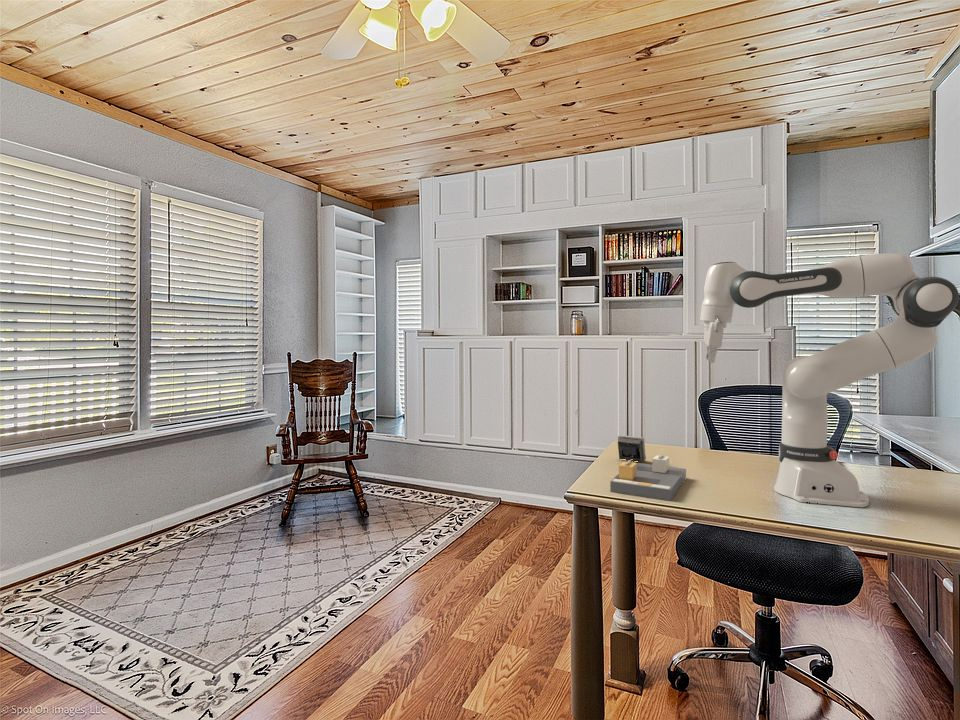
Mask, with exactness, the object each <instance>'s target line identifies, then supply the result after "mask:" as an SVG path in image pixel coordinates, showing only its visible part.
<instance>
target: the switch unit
mask: <svg viewBox="0 0 960 720" xmlns="http://www.w3.org/2000/svg"><path fill="white" fill-rule="evenodd" d="M633 463H635V462H633ZM685 478H687V469H686V468H681V467H674V466H669V470H668V471H667V472H666V473H660V472H653V471H652V464H649V463H642V462H641V463H637V476H636V477H635V478H634V479H633V480H626V479H619V473H618V474H617V475H615V476H614V477H613V479H611V480H610V482H609V483H610V484H609V485H610V488H609V489H610V490H609V491H610V492H611V493H612V492H613V493H618V494H623V495H624V494H625V495H629V496H630V495H631V496H636V497H637V496H638V497H644V498H651V499H658V500H664V501H670V502H671V501H672V500H673V498H674V496H675V495H676V493H678V491H679V489H680V487H682V485H683V483H684V482H685V480H686V479H685ZM683 481H684V482H683ZM681 484H682V485H681Z"/></svg>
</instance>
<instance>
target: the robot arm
mask: <svg viewBox="0 0 960 720" xmlns="http://www.w3.org/2000/svg"><path fill="white" fill-rule="evenodd" d="M914 269H915V268H914V265H913V262H912V260H911V259H910V258H909V257H908V256H907V255H905V254H903V253H894V252H893V253H874V254H873V253H872V254H871V253H870V254H863V255H857V256H851V257H845V258H842V259H837V260H835V261H832V262H829V263H826V264H823V265H820V266H818V267H814V268H811V269H807V270H806V269H805V270H799V271H792V272H785V273H783V272H782V273H778V274H777V273H776V274H775V273H774V274H770V273H764V272H760V271H755V270H747V269H745V268H743V267H742V266H741V265H739V264H738V263H737V262H734V261H724V262H723V261H721V262H717V263H713V264H712V265H711V266H710V267H709V268H708V269H707V272H706V274H705V280H704V287H703V294H704V295H703V296H704V298H703V300H702V303H701V308H700V317H699V320H700V321H703V330H704V331H703V341H704V345H706V356H705V359H706V360H707V362H708V363H710V364H711V363H712V364H714V363H715V362H716V356H717V353H718V349H721V348H722V345H723V338H724V336H723V335H724V329H726V328H727V324H729V323H730V324H731V323H732V321H733V312H734V307H735V305H737V306H740V307H741V308H746V309H747V308H748V309H750V308H757V307H760V306H762V305H764V304H765V303H766V302H768V301H770V300H772V299H776V298H784V297H792V296H799V295H821V296H825V297H830V298H835V299H836V298H837V299H851V298H864V297H871V296H879V295H880V296H886V299H887V300H888V302H889V304H890V306H891V308H892V310H893V312H894V313H895V314H896V315H897V318H896V319H895V320H894V321H893V322H891V323H889V324H887V325H884V326H882V327H879V328H876V329H873V330H871V331H869V332H865V333H863V334H860V335H857V336H854V337H852V338H849V339H847V340H844V341H841V342H839V343H837V344H835V345H832V346H830V347H828V348H826V349H824V350H820V351H819V352H818V351H817V352H815V353H813V354H811V355H809V356H808V355H806V356H804V355H802V356H797V357H794V358H791V359H790V360H789V361H788V362H787V363H786V364H785V365H784V367H783V369H782V383H781V384H782V388H781V390H782V394H781V395H782V396H781V397H782V399H781V403H782V404H781V406H782V407H781V440H780V442H779V446H778V459H779V469H778V472H777V473H778V474H777V477H776V481H775V484H774V486H773V490H774V491H775V492H776V493H778V494H780V495H783V496H785V497H788V498H792V499H794V500H795V501H797V502H801V503H806V502H808V504H809V502H810V504H817V503H818V505H830V506H843V507H854V508H865V507H868V506H869V504H870V499H869V496H868V495H867V494H866V493H864V492H863V491H861V490H860V486H859V482H858V480H857V478H856V476H855V475H854V474H853V473H852V472H851V471H850V470H848V468H845V466H843V465H842V464H840V463H839V462H838V461H836V460H837V459H838V457H839V453H838V451H836V450H835V449H834V448H833V447H832V446H831V447H830V446H828V445H827V444H828V420H829V419H828V401H827V399H828V398H827V397H828V395H829V394H830V393H833V392H835V391H837V390H840V389H842V388H845V387H847V386H849V385H852V384H853V383H854V384H855V383H856V382H858V381H861V380H864V379H866V378H868V377H869V378H870V377H872V376H876V375H878V374H881V373H883V372H887V371H890V370H892V369H896V368H898V367H900V366H903V365H907V364H908V363H912V362H913V361H915V360H918V359H919V358H922V357H924V356H926V355H927V354H929V353H931V352H932V351H933V350H935V349H936V347H937V344H938V335H937V332H936V331H935V329H934V328H936V327H938V326H939V325H940V324H942V322H943V321H944V320H945V319H946V318H947V317H948V316H949V315H951V313H952V312H953V311H954V310H955V308H956V307H957V305H958V303H959V300H960V294H959V293H960V292H959V291H958V289H957V286H955V284H953V283H952V282H951V281H950V280H948V279H946V278H943V277H941V276H940V277H939V276H926V277H920V276H918V275H917V274H916V273H915V270H914ZM827 394H828V395H827Z"/></svg>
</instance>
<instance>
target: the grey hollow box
mask: <svg viewBox="0 0 960 720" xmlns="http://www.w3.org/2000/svg"><path fill="white" fill-rule="evenodd" d="M617 448H618V460H619V461H620V459H626V460H630V459H633V460H631V461H638V462H641V463H642V462H645V461H646V457H647V456H646V445H645V438H644V437H642V436H631V435H623V434H619V435H618V436H617Z"/></svg>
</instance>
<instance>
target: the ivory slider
mask: <svg viewBox="0 0 960 720" xmlns="http://www.w3.org/2000/svg"><path fill="white" fill-rule="evenodd" d="M651 459H652V460H651V461H652V464H651V465H652V471H653V472H660V473H666V472H667V471H668V470H669V467H670V456H667V455H664V454H659V455H657V454H656V455H655V456H654V457H653V458H651Z"/></svg>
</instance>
